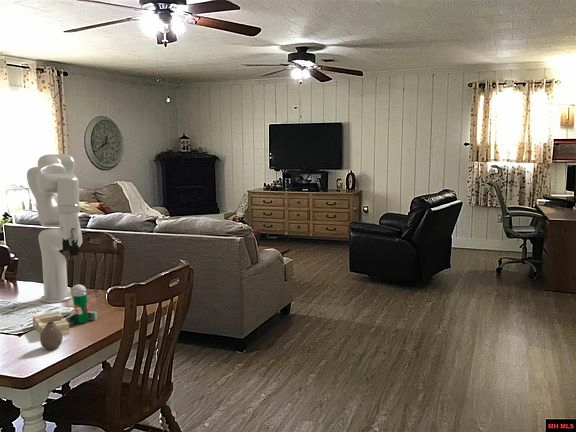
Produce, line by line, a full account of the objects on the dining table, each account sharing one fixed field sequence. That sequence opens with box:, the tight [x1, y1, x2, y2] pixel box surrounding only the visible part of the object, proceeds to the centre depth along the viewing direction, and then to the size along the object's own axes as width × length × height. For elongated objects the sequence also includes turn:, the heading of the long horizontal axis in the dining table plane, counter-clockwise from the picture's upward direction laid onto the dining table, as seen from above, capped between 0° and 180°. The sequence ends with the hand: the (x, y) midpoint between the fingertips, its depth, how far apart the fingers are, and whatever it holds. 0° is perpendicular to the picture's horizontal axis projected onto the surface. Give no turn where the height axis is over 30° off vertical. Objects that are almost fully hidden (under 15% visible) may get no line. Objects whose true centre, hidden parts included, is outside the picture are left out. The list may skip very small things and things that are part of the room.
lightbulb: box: [69, 284, 87, 299], centre depth 210 cm, size 6×6×11 cm
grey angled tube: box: [65, 309, 98, 326], centre depth 199 cm, size 8×12×3 cm
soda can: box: [72, 290, 90, 325], centre depth 196 cm, size 5×5×12 cm
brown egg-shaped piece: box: [39, 322, 64, 351], centre depth 171 cm, size 7×7×9 cm
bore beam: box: [32, 311, 70, 336], centre depth 188 cm, size 16×9×4 cm, turn 37°
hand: (70, 252), depth 196 cm, fingers open, 9 cm apart
